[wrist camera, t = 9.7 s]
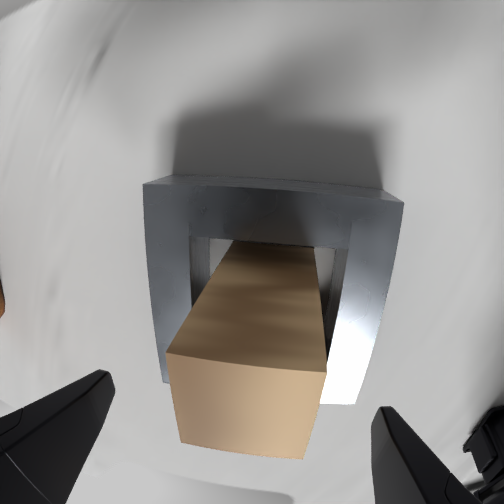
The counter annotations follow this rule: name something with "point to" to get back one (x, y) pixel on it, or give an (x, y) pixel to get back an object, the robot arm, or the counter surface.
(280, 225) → the block
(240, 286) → the oak peg
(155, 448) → the counter surface
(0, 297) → the pancake mix bag
